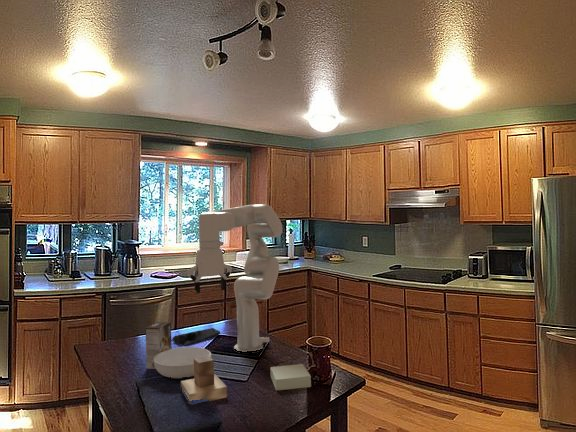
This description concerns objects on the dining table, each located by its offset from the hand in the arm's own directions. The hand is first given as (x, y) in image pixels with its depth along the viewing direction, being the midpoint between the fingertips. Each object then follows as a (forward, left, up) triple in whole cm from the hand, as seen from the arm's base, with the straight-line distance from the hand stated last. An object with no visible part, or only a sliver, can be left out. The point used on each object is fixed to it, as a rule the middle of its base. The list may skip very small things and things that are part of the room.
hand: (210, 291), depth 156 cm
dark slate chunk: (-7, -46, -31) cm, 56 cm away
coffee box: (+16, -18, -31) cm, 39 cm away
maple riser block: (+9, +18, -31) cm, 37 cm away
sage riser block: (-21, +23, -31) cm, 44 cm away
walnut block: (+8, +18, -27) cm, 33 cm away
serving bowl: (+10, -4, -31) cm, 32 cm away
